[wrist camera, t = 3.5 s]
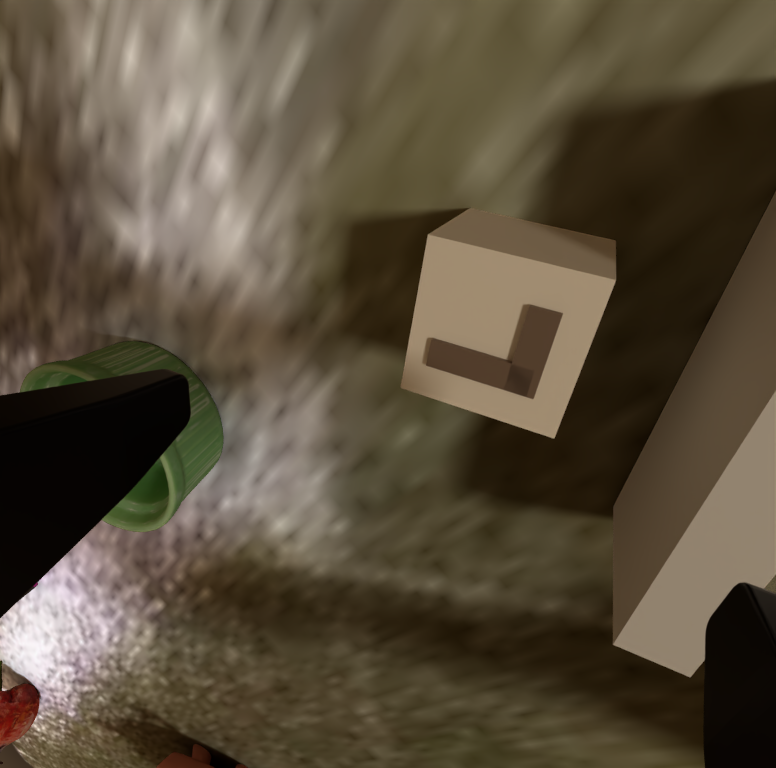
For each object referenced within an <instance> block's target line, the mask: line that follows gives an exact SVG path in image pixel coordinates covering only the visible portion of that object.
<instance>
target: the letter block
mask: <svg viewBox="0 0 776 768" xmlns="http://www.w3.org/2000/svg"><path fill="white" fill-rule="evenodd" d="M615 282H616V240H612V239H607V238H603V237H598V236H594V235H589V234H585V233H580V232H576V231H571V230H567V229H562V228H558V227H554V226H549V225H545V224H540V223H536V222H531V221H527V220H522V219H518V218H513V217H509V216H504V215H500V214H495V213H491V212H486V211H482V210H477V209H473V208H469V209H468V210H466V211H465V212H463V213H461V214H460V215H458V216H457V217H455V218H453V219H452V220H450V221H449V222H447V223H445V224H444V225H442V226H441V227H439V228H437V229H436V230H434V231H433V232H431V233H429V234H428V237H427V243H426V248H425V254H424V259H423V265H422V270H421V276H420V282H419V287H418V293H417V298H416V304H415V310H414V315H413V321H412V326H411V332H410V337H409V343H408V349H407V354H406V360H405V365H404V371H403V377H402V382H401V388H402V389H405V390H409V391H412V392H415V393H418V394H421V395H424V396H427V397H430V398H433V399H436V400H439V401H442V402H445V403H448V404H451V405H454V406H457V407H460V408H463V409H466V410H469V411H472V412H475V413H478V414H481V415H484V416H487V417H490V418H493V419H496V420H499V421H502V422H505V423H508V424H511V425H514V426H517V427H520V428H523V429H526V430H529V431H532V432H535V433H538V434H541V435H544V436H547V437H551V438H555V436H556V433H557V430H558V428H559V425H560V423H561V420H562V418H563V415H564V412H565V410H566V407H567V405H568V402H569V400H570V397H571V395H572V392H573V389H574V387H575V384H576V382H577V379H578V377H579V374H580V372H581V369H582V366H583V364H584V361H585V359H586V356H587V354H588V351H589V348H590V346H591V343H592V341H593V338H594V336H595V333H596V331H597V328H598V325H599V323H600V320H601V318H602V315H603V313H604V310H605V308H606V305H607V302H608V300H609V297H610V295H611V292H612V290H613V287H614V284H615Z"/></svg>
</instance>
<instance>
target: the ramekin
mask: <svg viewBox="0 0 776 768" xmlns="http://www.w3.org/2000/svg"><path fill="white" fill-rule="evenodd" d="M158 369H169V370H172V371H174V372H177V373H180V374H183V375H184V376H185V377H186V378H187V380H188V382H189V392H190V405H191V417H190V420H189V422H188V424H187V426H186V427H185V429H184V430H183V431H182V432H181V433H180V434H179V436H178V437H177V438H176V439H175V440H174V441H173V443H172V444H171V445H170V446H169V447H168V449H167V450H166V451H165V452H164V453H163V454H162V456H161V457H160V458H159V459H158V460H157V462H156V463H155V464H154V465H153V466H152V467H151V469H150V470H149V471H148V472H147V473H146V474H145V476H144V477H143V478H142V479H141V480H140V481H139V482H138V484H137V485H136V486H135V487H134V488H133V489H132V490H131V491H130V492H129V493H128V494H127V495H126V496H125V497H124V498H123V499H122V500H121V501H120V502H119V503H118V504H117V505H116V506H115V507H114V508H113V509H112V510H111V511H110V512H109V513H108V514H107V515H106V516H105V517H104V518H103V519H102V520H103V521H104V522H106V523H108V524H110V525H113V526H115V527H118V528H121V529H124V530H128V531H134V532H148V531H152V530H156V529H158V528H160V527H162V526H163V525H165V524H166V523H167V522H168V521H169V520H170V519H171V518H172V516H173V515H174V514H175V512H176V511H177V509H178V508H179V506H180V504H181V502H182V501H183V500H184V499H185V498H186V496H187V495H188V494H189V493H190V492H191V491H192V490H193V489H194V488H195V487H196V486H197V484H198V483H199V482H200V481H201V480H202V479H203V478H204V477H205V476H206V475H207V474H208V473H209V472H210V471H211V469H212V468H213V467H214V465H215V464H216V463H217V461H218V460H219V458H220V455H221V453H222V448H223V428H222V423H221V419H220V416H219V413H218V410H217V407H216V405H215V403H214V401H213V399H212V397H211V395H210V394H209V392H208V390H207V389H206V387H205V386H204V385H203V383H202V382H201V381H200V379H199V378H198V377H197V376H196V375H195V374H194V372H193V371H192V370H191V369H190V368H189V367H188V366H186V365H185V364H184V363H183V362H182V361H181V360H179V359H178V358H177V357H175V356H174V355H172V354H171V353H169V352H167V351H166V350H164V349H162V348H159V347H157V346H155V345H151V344H148V343H143V342H137V341H126V342H121V343H117V344H114V345H111V346H108V347H105V348H103V349H100V350H97V351H94V352H91V353H88V354H86V355H83V356H80V357H77V358H74V359H71V360H68V361H56V362H51V363H47V364H44V365H41V366H39V367H36V368H35V369H33V370H32V371H31V372H30V373H28V375H27V376H26V377H25V379H24V381H23V383H22V386H21V389H20V392H25V391H31V390H37V389H43V388H49V387H55V386H61V385H67V384H74V383H80V382H86V381H92V380H98V379H104V378H110V377H116V376H122V375H128V374H134V373H140V372H146V371H152V370H158Z"/></svg>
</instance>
